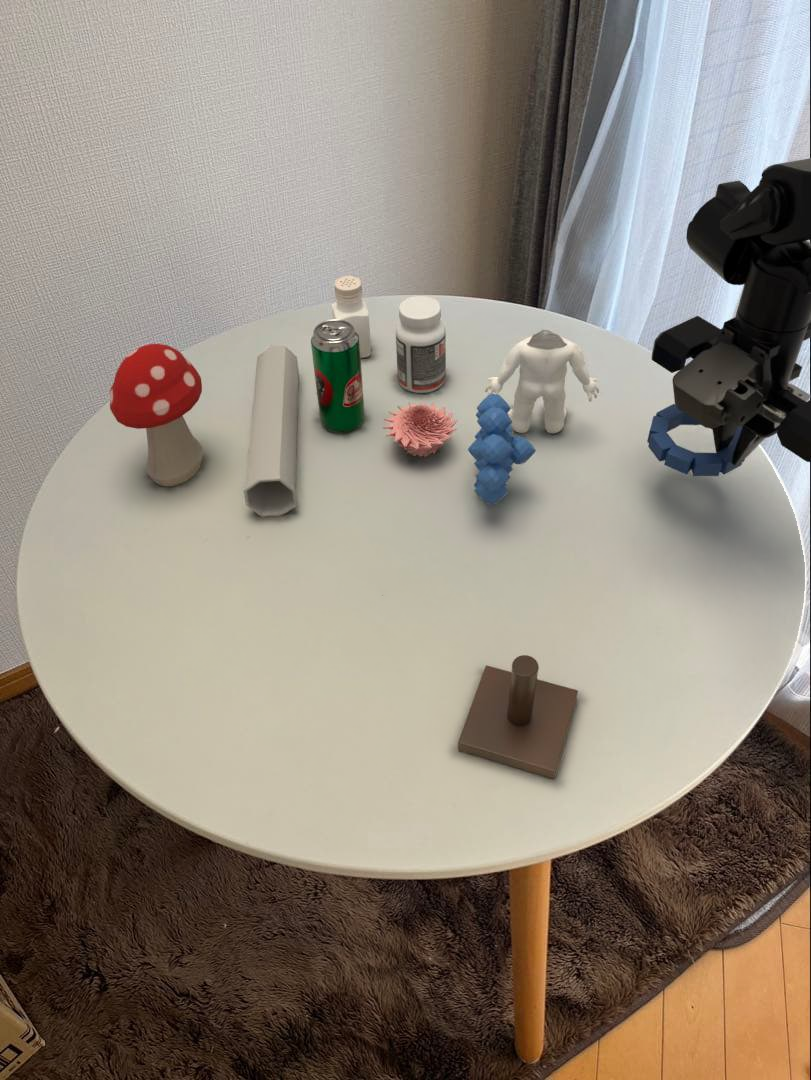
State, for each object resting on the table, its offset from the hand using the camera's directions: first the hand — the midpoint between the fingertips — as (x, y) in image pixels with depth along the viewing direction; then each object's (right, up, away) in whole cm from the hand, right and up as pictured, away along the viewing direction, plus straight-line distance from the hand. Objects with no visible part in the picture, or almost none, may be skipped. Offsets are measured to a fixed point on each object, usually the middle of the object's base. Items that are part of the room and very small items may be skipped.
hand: (728, 457), depth 85 cm
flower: (-29, +2, +14) cm, 32 cm away
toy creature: (-16, +5, +16) cm, 23 cm away
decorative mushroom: (-55, 0, +13) cm, 57 cm away
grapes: (-21, -3, +9) cm, 23 cm away
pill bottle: (-29, +11, +22) cm, 38 cm away
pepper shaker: (-37, +15, +27) cm, 48 cm away
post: (-21, -23, -11) cm, 33 cm away
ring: (-2, +1, +3) cm, 4 cm away
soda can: (-38, +6, +17) cm, 42 cm away
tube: (-45, +3, +16) cm, 48 cm away
